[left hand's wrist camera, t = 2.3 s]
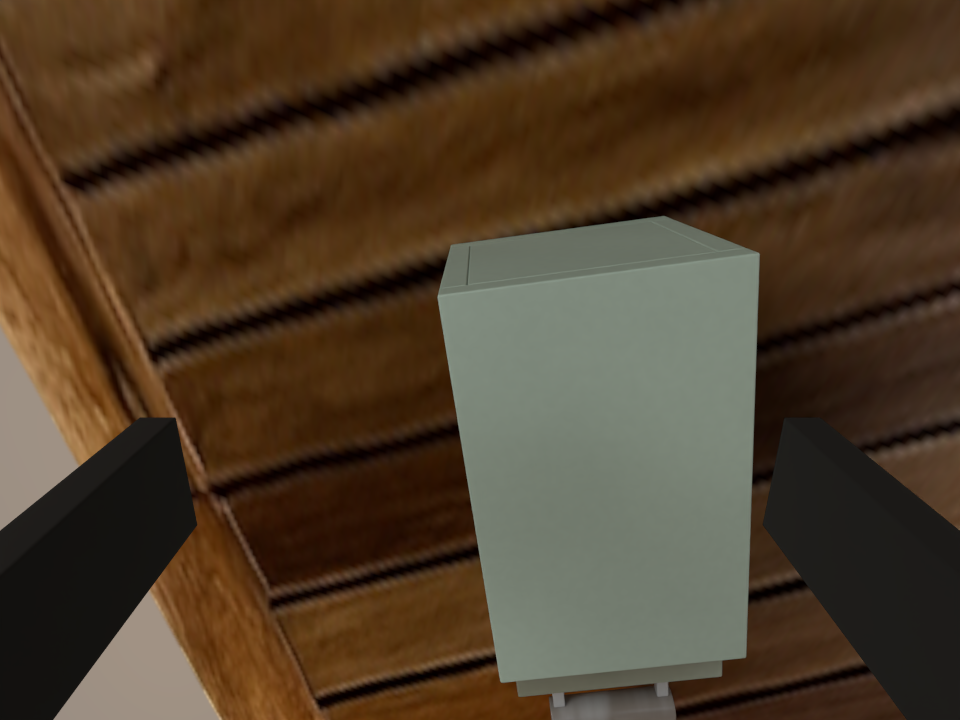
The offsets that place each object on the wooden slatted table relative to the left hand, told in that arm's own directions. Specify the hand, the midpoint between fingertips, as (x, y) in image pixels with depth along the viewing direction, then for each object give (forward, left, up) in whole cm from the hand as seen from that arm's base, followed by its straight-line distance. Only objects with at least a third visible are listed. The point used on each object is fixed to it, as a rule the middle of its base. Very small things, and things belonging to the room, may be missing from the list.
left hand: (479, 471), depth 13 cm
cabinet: (-3, +7, -17) cm, 19 cm away
